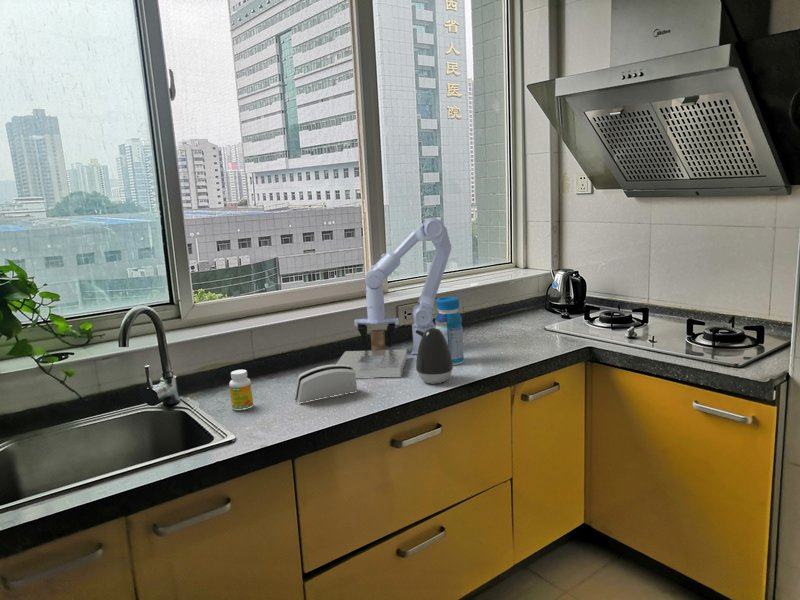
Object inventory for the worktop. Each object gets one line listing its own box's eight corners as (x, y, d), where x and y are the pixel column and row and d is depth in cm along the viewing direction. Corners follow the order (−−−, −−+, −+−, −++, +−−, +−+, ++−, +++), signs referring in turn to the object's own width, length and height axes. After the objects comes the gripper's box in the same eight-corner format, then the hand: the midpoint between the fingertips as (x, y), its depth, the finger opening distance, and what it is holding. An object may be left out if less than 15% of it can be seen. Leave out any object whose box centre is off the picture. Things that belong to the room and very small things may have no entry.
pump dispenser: (427, 374, 175) (424, 323, 172) (459, 377, 169) (457, 325, 167) (409, 384, 166) (406, 331, 163) (443, 388, 161) (440, 333, 158)
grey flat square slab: (407, 358, 192) (406, 349, 192) (400, 377, 173) (400, 367, 172) (345, 360, 194) (345, 351, 194) (332, 379, 175) (331, 369, 174)
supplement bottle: (231, 412, 152) (227, 376, 151) (232, 405, 158) (228, 370, 156) (253, 409, 154) (249, 373, 152) (253, 403, 159) (249, 367, 157)
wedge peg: (385, 352, 201) (384, 329, 200) (384, 355, 197) (382, 332, 196) (373, 353, 201) (372, 329, 200) (372, 356, 198) (370, 332, 196)
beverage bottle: (463, 366, 180) (460, 300, 176) (435, 366, 182) (431, 301, 178) (465, 358, 188) (462, 295, 184) (438, 358, 190) (435, 296, 186)
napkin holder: (351, 387, 167) (353, 357, 162) (357, 397, 163) (359, 366, 159) (292, 399, 160) (293, 367, 155) (298, 409, 156) (298, 378, 152)
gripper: (351, 309, 193) (354, 350, 196) (396, 307, 192) (398, 348, 194) (355, 305, 200) (358, 344, 203) (398, 303, 199) (400, 343, 201)
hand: (378, 346), depth 199 cm, fingers open, 7 cm apart
